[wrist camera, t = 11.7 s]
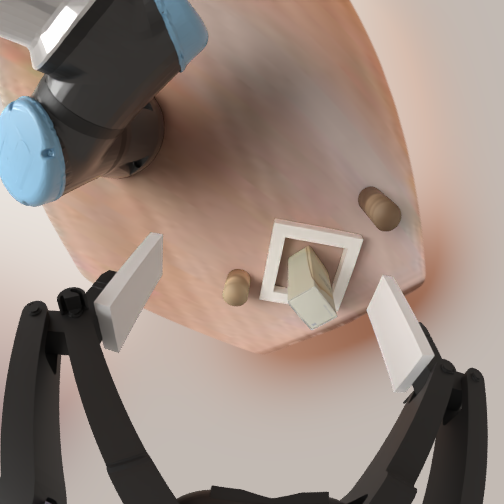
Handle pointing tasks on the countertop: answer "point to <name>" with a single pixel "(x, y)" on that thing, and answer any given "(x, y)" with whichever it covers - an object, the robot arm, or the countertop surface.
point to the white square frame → (316, 235)
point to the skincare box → (310, 289)
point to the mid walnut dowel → (379, 209)
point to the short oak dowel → (236, 287)
